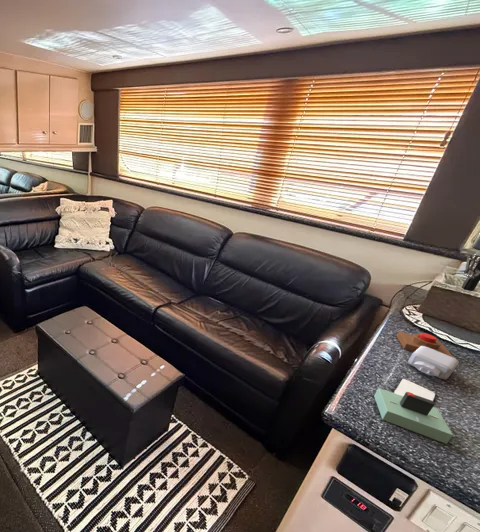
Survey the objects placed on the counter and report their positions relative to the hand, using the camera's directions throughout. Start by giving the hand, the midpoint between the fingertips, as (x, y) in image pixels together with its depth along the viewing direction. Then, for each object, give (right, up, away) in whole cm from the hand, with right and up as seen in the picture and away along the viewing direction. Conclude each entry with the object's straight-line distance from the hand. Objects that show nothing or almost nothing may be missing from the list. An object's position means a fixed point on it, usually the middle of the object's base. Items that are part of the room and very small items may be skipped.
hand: (466, 289), depth 98 cm
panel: (-34, -32, -15) cm, 49 cm away
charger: (-7, -27, +5) cm, 28 cm away
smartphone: (-24, -31, -7) cm, 39 cm away
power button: (+5, -19, +16) cm, 26 cm away
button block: (+5, -23, +17) cm, 29 cm away
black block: (-34, -30, -16) cm, 48 cm away
